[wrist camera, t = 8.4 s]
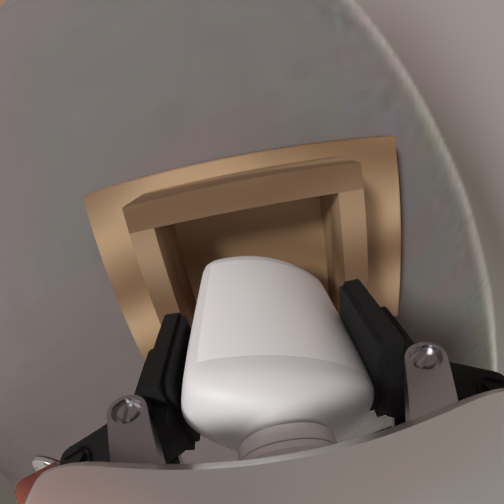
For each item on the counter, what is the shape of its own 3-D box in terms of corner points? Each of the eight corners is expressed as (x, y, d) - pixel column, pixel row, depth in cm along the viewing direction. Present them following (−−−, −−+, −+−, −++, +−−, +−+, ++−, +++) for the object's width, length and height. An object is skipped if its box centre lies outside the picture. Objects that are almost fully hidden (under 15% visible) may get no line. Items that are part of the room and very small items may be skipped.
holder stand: (389, 305, 21) (420, 344, 16) (149, 349, 21) (134, 397, 16) (382, 135, 16) (428, 138, 12) (93, 191, 17) (51, 211, 12)
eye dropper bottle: (245, 216, 13) (288, 536, 2) (332, 289, 15) (451, 518, 3) (185, 286, 14) (124, 557, 3) (273, 345, 16) (312, 573, 5)
